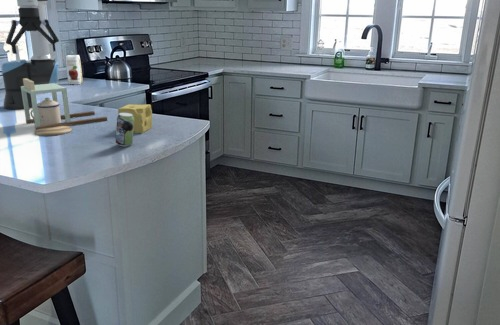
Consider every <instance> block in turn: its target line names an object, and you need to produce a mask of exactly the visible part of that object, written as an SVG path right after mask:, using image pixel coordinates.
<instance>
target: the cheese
mask: <svg viewBox="0 0 500 325" xmlns="http://www.w3.org/2000/svg"><path fill="white" fill-rule="evenodd" d="M117 112H118V113H117V114H118V115H119V113H131V114H133V117H134V130H133V133H137V134H144V133H145V132H147V131H148V130H150V129H152V128H153V110H152V105H151V104H129V103H128V104H126V105H124V106H122V107H120V108H118V110H117ZM118 115H117V116H118Z"/></svg>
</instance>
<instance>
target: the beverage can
mask: <svg viewBox="0 0 500 325" xmlns="http://www.w3.org/2000/svg"><path fill="white" fill-rule="evenodd" d="M133 130H134V117H133V114H131V113H119V115H117V117H116V128H115V144H117V145H118V146H120V147H130V146H131V145H132V144H133V141H134V132H133Z"/></svg>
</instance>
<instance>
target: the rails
mask: <svg viewBox="0 0 500 325" xmlns="http://www.w3.org/2000/svg"><path fill="white" fill-rule="evenodd" d="M95 114H96V113H95V111H93V110H91V111H90V110H89V111H84V112H83V111H82V112H75V113H70V119H74V118H73V117H75V118H81V117H88V116H95ZM60 117H61V120H65V114H60ZM30 119H31V120H26V119H25V123H26V125H30V124H35V121H34V119H33V118H30ZM70 121H71V122H69V123H66V121H64V122H61V123H56V124H48V125H40V127H36V126H35V125H34V127H35V131H36V130H37V129H40V128H47V127H54V126H68V127H73V126H79V125H86V124H94V123H100V122H106V121H107V122H108V117H107V116H101V117H100V116H99V117H94V118H93V117H92V118H84V119H80V120H79V119H77V120H70Z"/></svg>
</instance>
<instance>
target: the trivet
mask: <svg viewBox="0 0 500 325" xmlns="http://www.w3.org/2000/svg"><path fill="white" fill-rule="evenodd" d="M72 131H73V129H72V126H54V127H47V128H40V129H37V130H36V129H35V130H34V133H35V135H37V136H40V137H55V136H61V135H66V134H70V133H71V132H72ZM65 133H66V134H65Z"/></svg>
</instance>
